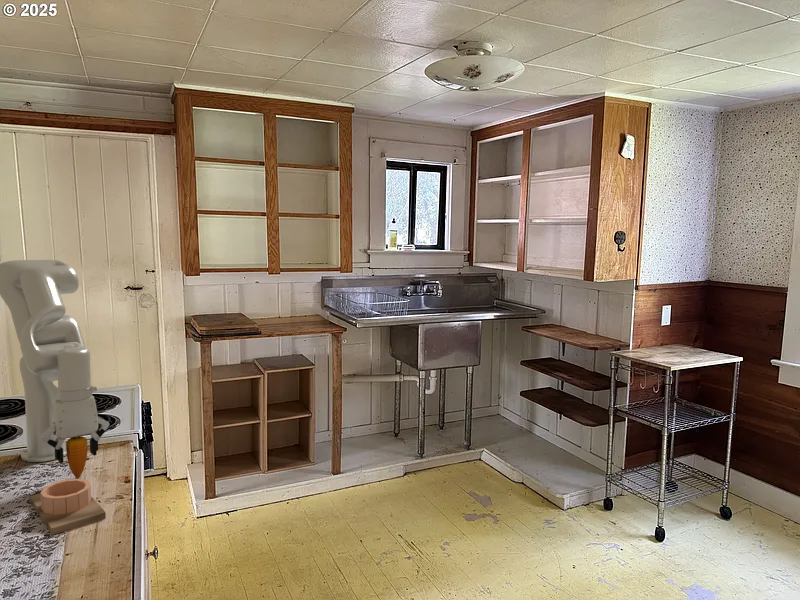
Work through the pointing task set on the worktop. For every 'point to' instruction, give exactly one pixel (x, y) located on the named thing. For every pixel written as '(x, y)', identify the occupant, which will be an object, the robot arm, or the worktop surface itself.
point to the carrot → (76, 454)
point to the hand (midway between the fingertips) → (77, 457)
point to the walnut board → (68, 516)
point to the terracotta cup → (65, 496)
